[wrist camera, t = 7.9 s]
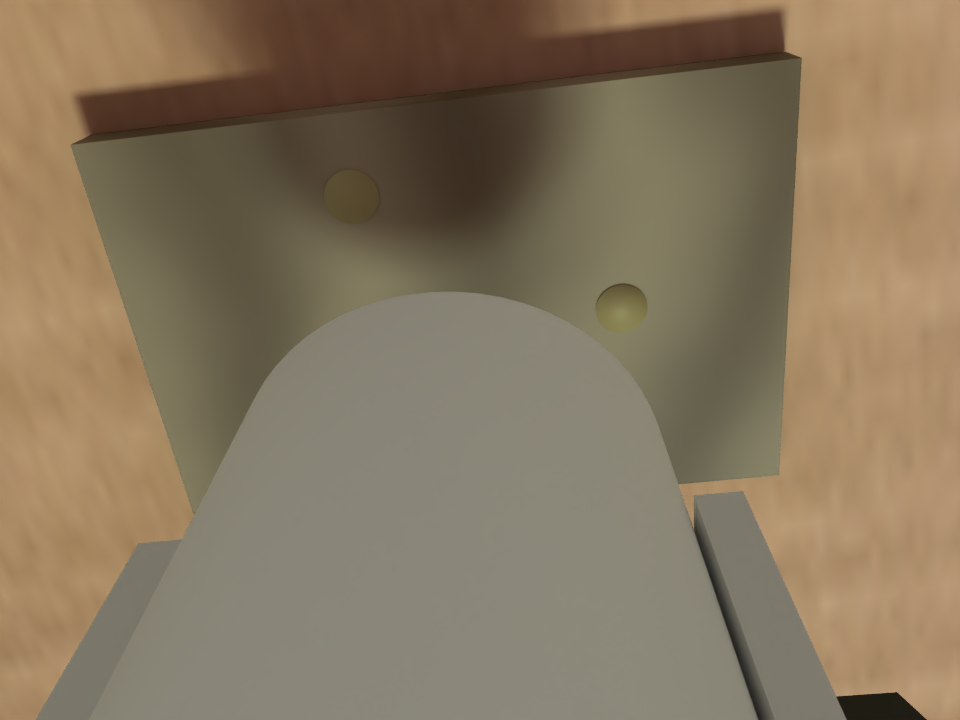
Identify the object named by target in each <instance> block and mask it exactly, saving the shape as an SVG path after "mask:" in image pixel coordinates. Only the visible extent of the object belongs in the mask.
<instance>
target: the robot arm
mask: <svg viewBox="0 0 960 720" xmlns="http://www.w3.org/2000/svg"><path fill="white" fill-rule="evenodd" d="M694 532H695V535H696V538H697V541H698V544H699V547H700V549H701V552H702V555H703V558H704V561H705V564H706V567H707V570H708V573H709V576H710V579H711V582H712V585H713V588H714V590H715V593H716V596H717V599H718V602H719V605H720V608H721V611H722V614H723V617H724V620H725V623H726V626H727V629H728V632H729V634H730V637H731V640H732V643H733V646H734V649H735V652H736V655H737V658H738V661H739V664H740V667H741V670H742V673H743V675H744V678H745V681H746V684H747V687H748V690H749V693H750V696H751V699H752V702H753V705H754V708H755V711H756V714H757V716H758V719H759V720H926V719H925V718H924V717H923V716H922V715H921V714H920V713H919V712H918V711H917V710H916V709H914V708H913V707H912V706H911V705H910V704H909V703H908V702H907V701H906V700H905V699H904V698H903V697H901V696H900V695H899V694H898V693H897V692H895V693H881V694H867V695H853V696H838V697H836V695H835V693H834V691H833V689H832V686H831V684H830V682H829V680H828V678H827V675H826V673H825V671H824V669H823V667H822V664H821V662H820V660H819V658H818V656H817V653H816V651H815V649H814V647H813V644H812V642H811V640H810V638H809V636H808V633H807V631H806V629H805V627H804V625H803V622H802V620H801V618H800V616H799V614H798V611H797V609H796V607H795V605H794V603H793V600H792V598H791V596H790V594H789V592H788V589H787V587H786V585H785V583H784V581H783V578H782V576H781V574H780V572H779V570H778V567H777V565H776V563H775V561H774V559H773V556H772V554H771V552H770V550H769V547H768V545H767V543H766V541H765V539H764V536H763V534H762V532H761V530H760V528H759V525H758V523H757V521H756V519H755V517H754V514H753V512H752V510H751V508H750V506H749V503H748V501H747V499H746V497H745V495H744V492H743V491H740V492H728V493H717V494H705V495H694ZM180 542H181V540H172V541H160V542H149V543H138V545H137V547H136V549H135V550H134V552H133V554H132V555H131V557H130V559H129V561H128V562H127V564H126V566H125V567H124V569H123V571H122V573H121V574H120V576H119V578H118V579H117V581H116V583H115V585H114V586H113V588H112V590H111V591H110V593H109V595H108V597H107V598H106V600H105V602H104V604H103V605H102V607H101V609H100V610H99V612H98V614H97V616H96V617H95V619H94V621H93V622H92V624H91V626H90V628H89V629H88V631H87V633H86V634H85V636H84V638H83V640H82V641H81V643H80V645H79V646H78V648H77V650H76V652H75V653H74V655H73V657H72V658H71V660H70V662H69V664H68V665H67V667H66V669H65V670H64V672H63V674H62V676H61V677H60V679H59V681H58V682H57V684H56V686H55V688H54V689H53V691H52V693H51V694H50V696H49V698H48V700H47V701H46V703H45V705H44V706H43V708H42V710H41V712H40V713H39V715H38V717H37V718H36V720H89V718H90V716H91V715H92V713H93V711H94V709H95V707H96V705H97V703H98V701H99V699H100V697H101V695H102V693H103V691H104V689H105V687H106V685H107V684H108V682H109V680H110V678H111V676H112V674H113V672H114V670H115V668H116V666H117V664H118V662H119V660H120V658H121V656H122V654H123V652H124V651H125V649H126V647H127V645H128V643H129V641H130V639H131V637H132V635H133V633H134V631H135V629H136V627H137V625H138V623H139V621H140V620H141V618H142V616H143V614H144V612H145V610H146V608H147V606H148V604H149V602H150V600H151V598H152V596H153V594H154V592H155V590H156V588H157V587H158V585H159V583H160V581H161V579H162V577H163V575H164V573H165V571H166V569H167V567H168V565H169V563H170V561H171V559H172V557H173V556H174V554H175V552H176V550H177V548H178V546H179V544H180Z"/></svg>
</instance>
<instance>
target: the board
mask: <svg viewBox="0 0 960 720" xmlns="http://www.w3.org/2000/svg"><path fill="white" fill-rule="evenodd" d="M801 60H802V58H800V57H798V56H795V55H792V54H790V53H787V52H780V53H772V54H764V55H755V56H747V57H738V58H730V59H722V60H713V61H705V62H697V63H688V64H680V65H672V66H663V67H655V68H646V69H638V70H630V71H621V72H613V73H605V74H596V75H588V76H580V77H571V78H563V79H554V80H546V81H538V82H529V83H521V84H513V85H504V86H496V87H488V88H479V89H471V90H462V91H454V92H446V93H437V94H429V95H421V96H412V97H404V98H396V99H387V100H379V101H370V102H362V103H354V104H345V105H337V106H329V107H320V108H312V109H304V110H295V111H287V112H278V113H270V114H262V115H253V116H245V117H237V118H228V119H220V120H212V121H203V122H195V123H186V124H178V125H170V126H161V127H153V128H145V129H136V130H128V131H120V132H111V133H103V134H94V135H90V136H88V137H86V138H84V139H82V140H80V141H78V142H76V143H74V144H72V145H71V148H72V151H73V154H74V157H75V160H76V163H77V166H78V169H79V172H80V175H81V178H82V181H83V184H84V187H85V190H86V193H87V196H88V199H89V202H90V205H91V208H92V211H93V214H94V217H95V220H96V223H97V226H98V229H99V232H100V235H101V238H102V241H103V244H104V247H105V250H106V253H107V256H108V259H109V262H110V265H111V268H112V271H113V274H114V277H115V280H116V283H117V285H118V288H119V291H120V294H121V297H122V300H123V303H124V306H125V309H126V312H127V315H128V318H129V321H130V324H131V327H132V330H133V333H134V336H135V339H136V342H137V345H138V348H139V351H140V354H141V357H142V360H143V363H144V366H145V369H146V372H147V375H148V378H149V381H150V384H151V387H152V390H153V393H154V396H155V399H156V402H157V405H158V408H159V411H160V414H161V417H162V420H163V423H164V426H165V429H166V432H167V435H168V438H169V441H170V444H171V447H172V450H173V453H174V456H175V459H176V462H177V465H178V468H179V471H180V474H181V477H182V480H183V483H184V486H185V489H186V492H187V495H188V498H189V501H190V504H191V507H192V510H193V513H194V515H195V513H196V511H197V509H198V507H199V505H200V503H201V501H202V499H203V497H204V495H205V493H206V492H207V490H208V488H209V486H210V484H211V482H212V480H213V478H214V476H215V474H216V472H217V470H218V468H219V466H220V464H221V462H222V460H223V459H224V457H225V455H226V453H227V451H228V449H229V447H230V445H231V443H232V441H233V439H234V437H235V435H236V433H237V431H238V429H239V427H240V426H241V424H242V422H243V420H244V418H245V416H246V414H247V412H248V410H249V408H250V406H251V404H252V402H253V400H254V398H255V397H256V395H257V393H258V391H259V390H260V388H261V386H262V385H263V383H264V381H265V380H266V378H267V377H268V376H269V374H270V373H271V372H272V370H273V369H274V368H275V366H276V365H277V364H278V363H279V362H280V361H281V360H282V359H283V358H284V357H285V356H286V355H287V354H288V352H289V351H290V350H291V349H293V348H294V347H295V346H296V345H297V344H298V343H300V342H301V341H302V340H303V339H304V338H306V337H307V336H308V335H310V334H311V333H313V332H314V331H316V330H317V329H318V328H320V327H321V326H323V325H324V324H326V323H328V322H330V321H332V320H334V319H336V318H337V317H339V316H341V315H343V314H345V313H348V312H350V311H352V310H355V309H357V308H360V307H362V306H365V305H368V304H371V303H374V302H378V301H381V300H384V299H389V298H393V297H398V296H403V295H408V294H417V293H426V292H468V293H479V294H486V295H492V296H498V297H503V298H506V299H510V300H514V301H518V302H522V303H525V304H528V305H530V306H533V307H536V308H539V309H541V310H544V311H546V312H548V313H551V314H553V315H555V316H557V317H559V318H561V319H563V320H565V321H567V322H569V323H570V324H572V325H574V326H575V327H577V328H579V329H580V330H582V331H584V332H585V333H586V334H588V335H589V336H590V337H592V338H593V339H594V340H596V341H597V342H598V343H600V344H601V345H602V346H603V347H604V348H605V349H607V350H608V351H609V352H610V353H611V354H612V355H613V356H614V357H615V358H616V359H617V360H618V361H619V362H620V363H621V364H622V366H623V367H624V368H625V369H626V370H627V371H628V372H629V373H630V375H631V376H632V378H633V379H634V381H635V382H636V383H637V385H638V386H639V388H640V389H641V391H642V392H643V394H644V396H645V398H646V400H647V401H648V403H649V405H650V407H651V409H652V411H653V414H654V416H655V419H656V421H657V424H658V426H659V429H660V432H661V435H662V438H663V441H664V444H665V447H666V450H667V453H668V456H669V459H670V462H671V464H672V467H673V470H674V473H675V476H676V479H677V482H678V484H686V483H697V482H708V481H719V480H730V479H741V478H752V477H763V476H774V475H779V465H780V447H781V428H782V410H783V392H784V373H785V355H786V336H787V318H788V299H789V281H790V263H791V244H792V226H793V207H794V189H795V171H796V152H797V134H798V115H799V97H800V78H801Z"/></svg>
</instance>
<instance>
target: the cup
mask: <svg viewBox="0 0 960 720" xmlns="http://www.w3.org/2000/svg"><path fill="white" fill-rule="evenodd" d="M89 720H759V719H758V716H757V714H756V711H755V708H754V705H753V702H752V699H751V696H750V693H749V690H748V687H747V684H746V681H745V678H744V675H743V673H742V670H741V667H740V664H739V661H738V658H737V655H736V652H735V649H734V646H733V643H732V640H731V637H730V634H729V632H728V629H727V626H726V623H725V620H724V617H723V614H722V611H721V608H720V605H719V602H718V599H717V596H716V593H715V590H714V588H713V585H712V582H711V579H710V576H709V573H708V570H707V567H706V564H705V561H704V558H703V555H702V552H701V549H700V547H699V544H698V541H697V538H696V535H695V532H694V529H693V526H692V523H691V520H690V517H689V514H688V511H687V508H686V506H685V503H684V500H683V497H682V494H681V491H680V488H679V485H678V482H677V479H676V476H675V473H674V470H673V467H672V464H671V462H670V459H669V456H668V453H667V450H666V447H665V444H664V441H663V438H662V435H661V432H660V429H659V426H658V424H657V421H656V419H655V416H654V414H653V411H652V409H651V407H650V405H649V403H648V401H647V400H646V398H645V396H644V394H643V392H642V391H641V389H640V388H639V386H638V385H637V383H636V382H635V381H634V379H633V378H632V376H631V375H630V373H629V372H628V371H627V370H626V369H625V368H624V367H623V366H622V364H621V363H620V362H619V361H618V360H617V359H616V358H615V357H614V356H613V355H612V354H611V353H610V352H609V351H608V350H607V349H605V348H604V347H603V346H602V345H601V344H600V343H598V342H597V341H596V340H594V339H593V338H592V337H590V336H589V335H588V334H586V333H585V332H584V331H582V330H580V329H579V328H577V327H575V326H574V325H572V324H570V323H569V322H567V321H565V320H563V319H561V318H559V317H557V316H555V315H553V314H551V313H548V312H546V311H544V310H541V309H539V308H536V307H533V306H530V305H528V304H525V303H522V302H518V301H514V300H510V299H506V298H503V297H498V296H492V295H486V294H479V293H468V292H426V293H417V294H408V295H403V296H398V297H393V298H389V299H384V300H381V301H378V302H374V303H371V304H368V305H365V306H362V307H360V308H357V309H355V310H352V311H350V312H348V313H345V314H343V315H341V316H339V317H337V318H336V319H334V320H332V321H330V322H328V323H326V324H324V325H323V326H321V327H320V328H318V329H317V330H316V331H314V332H313V333H311V334H310V335H308V336H307V337H306V338H304V339H303V340H302V341H301V342H300V343H298V344H297V345H296V346H295V347H294V348H293V349H291V350H290V351H289V352H288V354H287V355H286V356H285V357H284V358H283V359H282V360H281V361H280V362H279V363H278V364H277V365H276V366H275V368H274V369H273V370H272V372H271V373H270V374H269V376H268V377H267V378H266V380H265V381H264V383H263V385H262V386H261V388H260V390H259V391H258V393H257V395H256V397H255V398H254V400H253V402H252V404H251V406H250V408H249V410H248V412H247V414H246V416H245V418H244V420H243V422H242V424H241V426H240V427H239V429H238V431H237V433H236V435H235V437H234V439H233V441H232V443H231V445H230V447H229V449H228V451H227V453H226V455H225V457H224V459H223V460H222V462H221V464H220V466H219V468H218V470H217V472H216V474H215V476H214V478H213V480H212V482H211V484H210V486H209V488H208V490H207V492H206V493H205V495H204V497H203V499H202V501H201V503H200V505H199V507H198V509H197V511H196V513H195V515H194V517H193V519H192V521H191V523H190V524H189V526H188V528H187V530H186V532H185V534H184V536H183V538H182V540H181V542H180V544H179V546H178V548H177V550H176V552H175V554H174V556H173V557H172V559H171V561H170V563H169V565H168V567H167V569H166V571H165V573H164V575H163V577H162V579H161V581H160V583H159V585H158V587H157V588H156V590H155V592H154V594H153V596H152V598H151V600H150V602H149V604H148V606H147V608H146V610H145V612H144V614H143V616H142V618H141V620H140V621H139V623H138V625H137V627H136V629H135V631H134V633H133V635H132V637H131V639H130V641H129V643H128V645H127V647H126V649H125V651H124V652H123V654H122V656H121V658H120V660H119V662H118V664H117V666H116V668H115V670H114V672H113V674H112V676H111V678H110V680H109V682H108V684H107V685H106V687H105V689H104V691H103V693H102V695H101V697H100V699H99V701H98V703H97V705H96V707H95V709H94V711H93V713H92V715H91V716H90V718H89Z"/></svg>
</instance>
